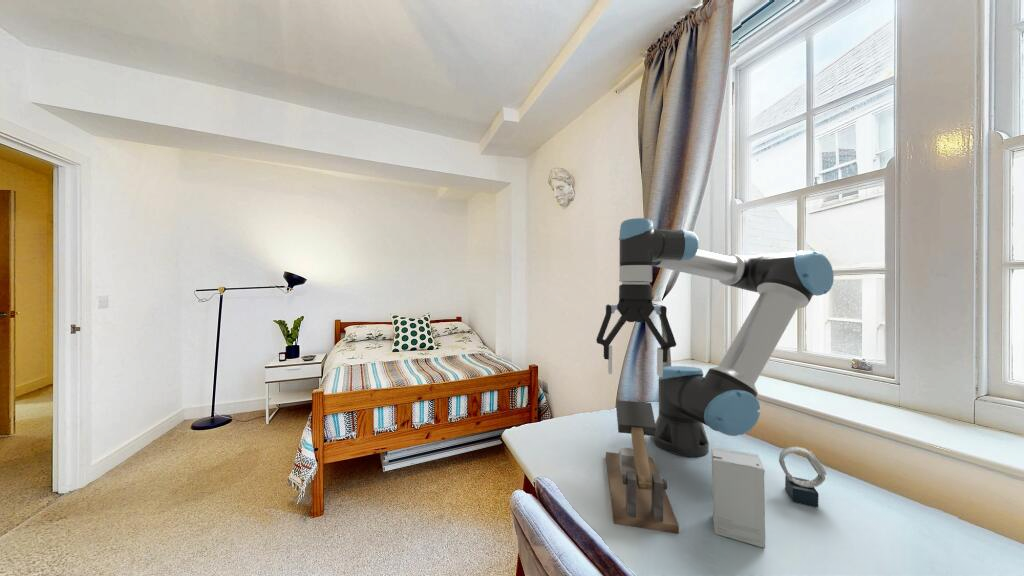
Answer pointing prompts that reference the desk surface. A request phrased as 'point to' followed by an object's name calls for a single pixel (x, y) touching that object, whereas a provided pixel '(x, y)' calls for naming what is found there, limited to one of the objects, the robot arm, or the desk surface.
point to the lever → (637, 435)
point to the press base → (638, 495)
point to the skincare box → (738, 496)
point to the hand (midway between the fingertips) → (634, 374)
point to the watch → (798, 487)
